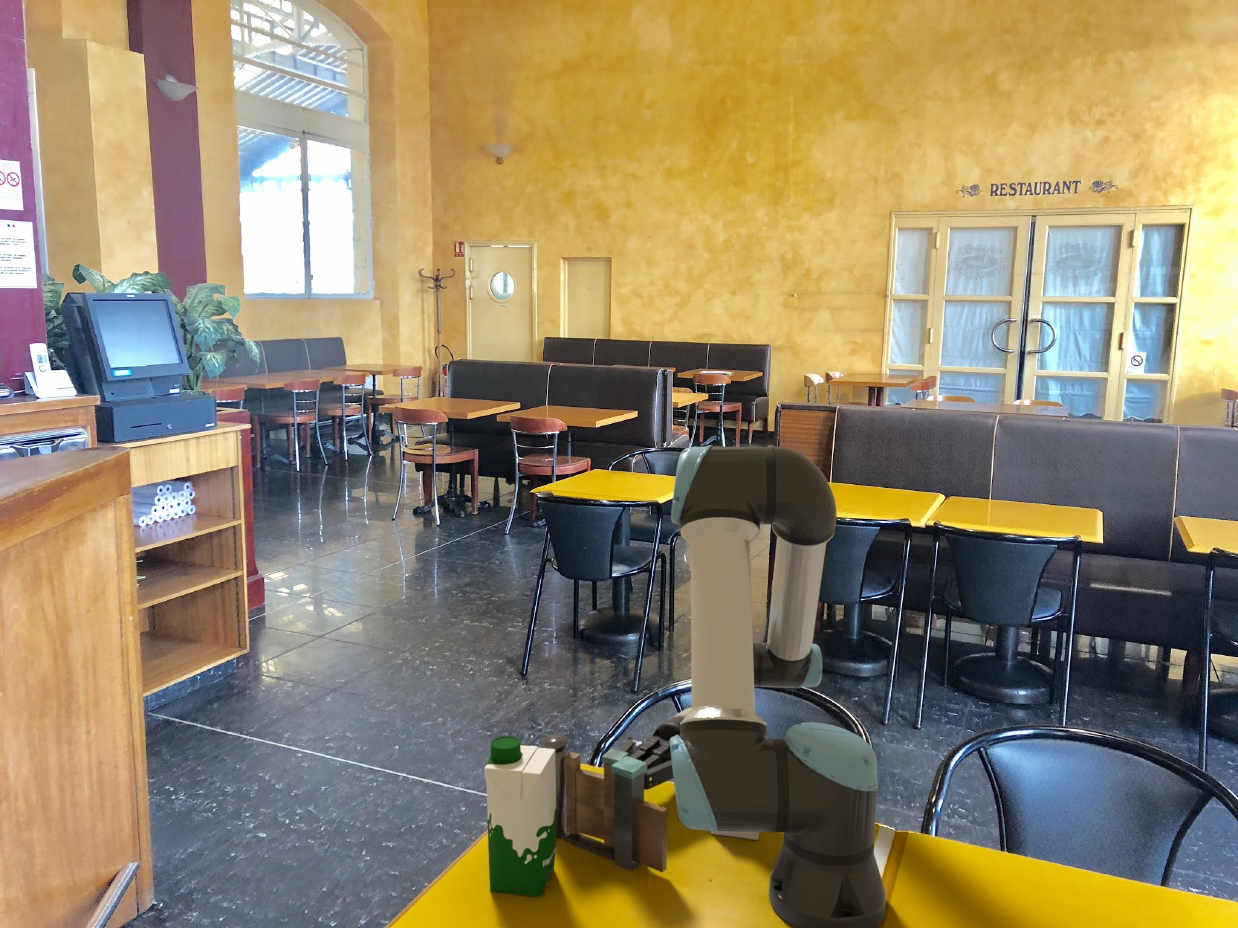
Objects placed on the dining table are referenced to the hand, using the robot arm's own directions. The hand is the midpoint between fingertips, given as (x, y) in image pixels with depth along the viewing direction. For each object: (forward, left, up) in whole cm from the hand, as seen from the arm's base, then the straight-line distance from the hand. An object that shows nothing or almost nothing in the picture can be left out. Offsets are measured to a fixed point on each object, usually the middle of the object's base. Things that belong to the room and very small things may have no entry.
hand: (598, 794), depth 139 cm
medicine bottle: (-15, -16, -8) cm, 23 cm away
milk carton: (+2, +14, -8) cm, 16 cm away
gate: (0, +1, -6) cm, 6 cm away
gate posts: (-2, +2, -7) cm, 8 cm away
